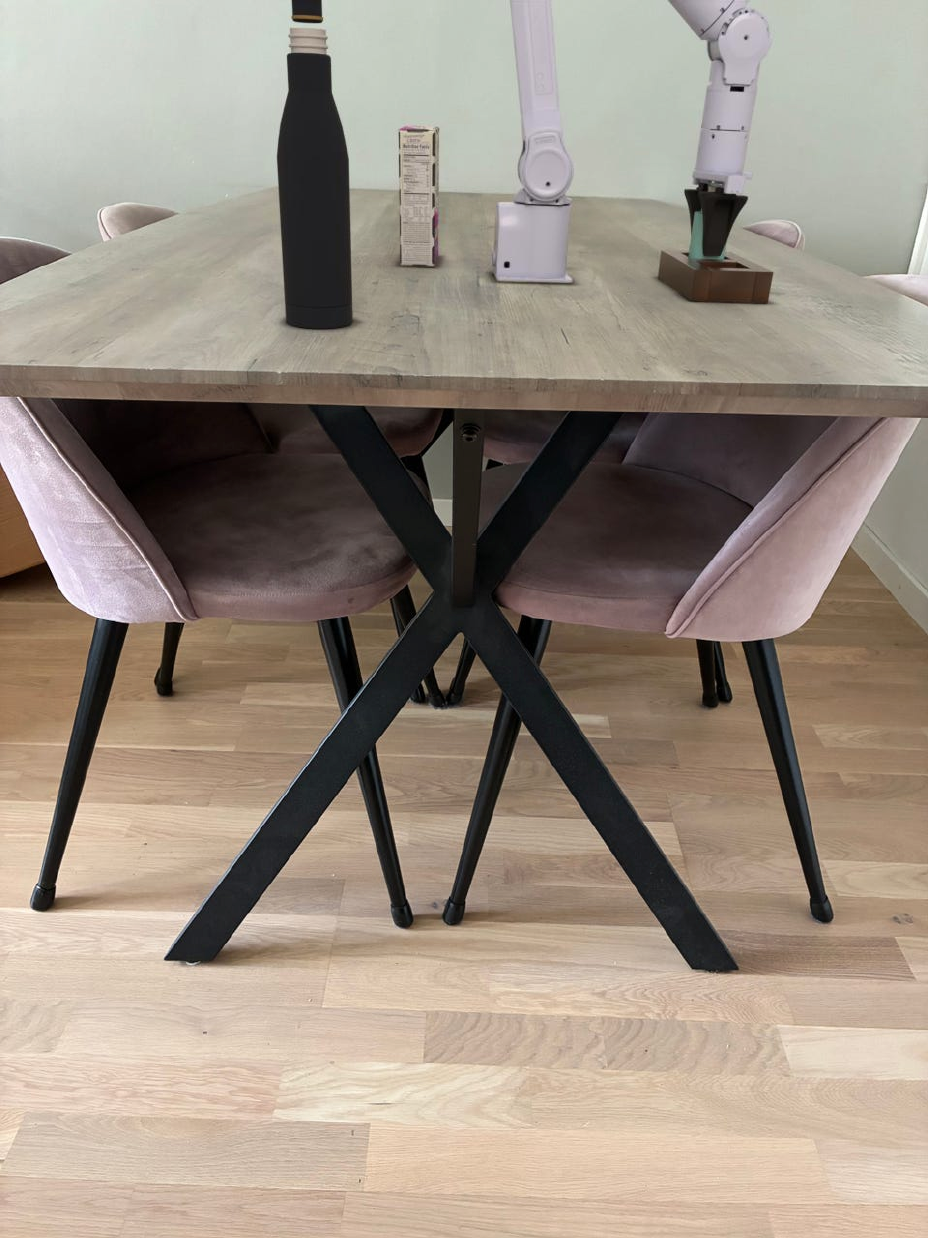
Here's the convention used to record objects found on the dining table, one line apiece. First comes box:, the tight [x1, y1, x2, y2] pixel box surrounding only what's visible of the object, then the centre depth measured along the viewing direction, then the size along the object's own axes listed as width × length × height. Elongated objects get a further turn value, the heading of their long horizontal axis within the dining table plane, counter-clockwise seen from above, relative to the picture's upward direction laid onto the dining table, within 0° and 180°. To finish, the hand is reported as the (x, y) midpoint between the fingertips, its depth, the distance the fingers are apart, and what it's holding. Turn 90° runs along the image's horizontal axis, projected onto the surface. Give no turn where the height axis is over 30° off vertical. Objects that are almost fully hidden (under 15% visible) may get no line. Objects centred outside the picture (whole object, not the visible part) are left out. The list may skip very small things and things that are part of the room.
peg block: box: [657, 249, 774, 304], centre depth 114 cm, size 9×16×4 cm, turn 3°
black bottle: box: [276, 0, 353, 330], centre depth 82 cm, size 6×6×30 cm
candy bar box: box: [397, 125, 440, 268], centre depth 123 cm, size 11×5×16 cm, turn 179°
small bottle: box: [688, 186, 728, 259], centre depth 114 cm, size 4×4×10 cm
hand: (706, 252), depth 116 cm, fingers closed on small bottle, 4 cm apart
